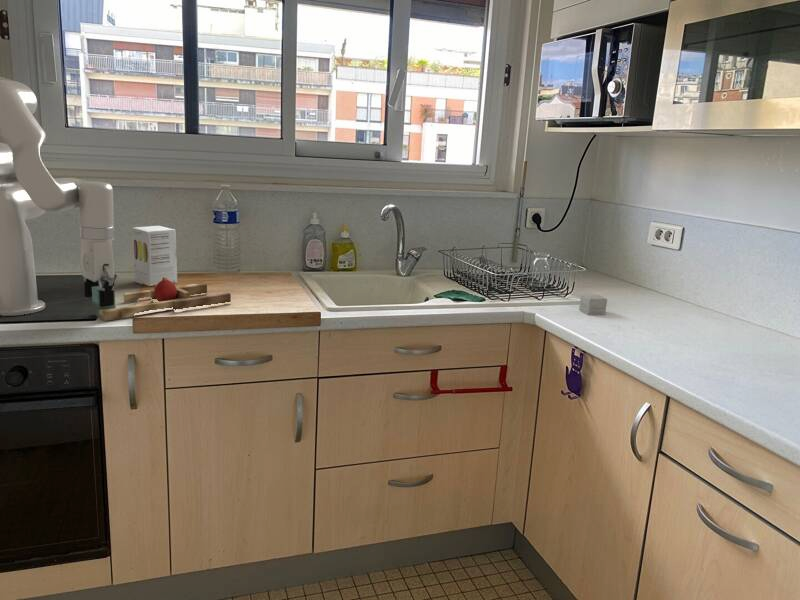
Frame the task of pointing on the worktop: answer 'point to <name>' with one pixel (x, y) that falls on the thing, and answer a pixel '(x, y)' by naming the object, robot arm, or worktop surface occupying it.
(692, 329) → the worktop surface
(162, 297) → the onion
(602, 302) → the small box
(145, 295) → the broken strip
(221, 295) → the lane rails
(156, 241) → the supplement box
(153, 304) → the tan frame
